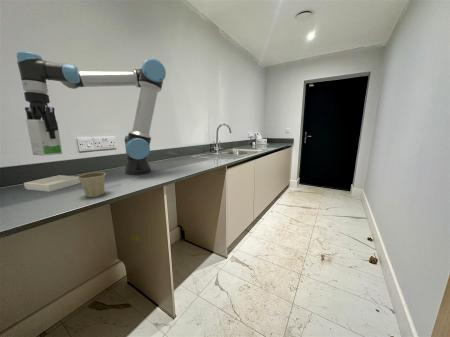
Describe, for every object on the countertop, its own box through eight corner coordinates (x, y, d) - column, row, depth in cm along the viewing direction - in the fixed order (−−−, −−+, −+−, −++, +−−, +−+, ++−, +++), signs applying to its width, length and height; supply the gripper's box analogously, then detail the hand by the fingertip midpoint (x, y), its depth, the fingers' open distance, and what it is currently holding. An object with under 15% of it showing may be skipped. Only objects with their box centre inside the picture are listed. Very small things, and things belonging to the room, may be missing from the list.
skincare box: (43, 156, 79) (36, 119, 76) (31, 155, 80) (24, 119, 77) (63, 153, 87) (58, 120, 84) (52, 153, 88) (46, 120, 85)
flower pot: (87, 201, 69) (83, 179, 67) (76, 196, 74) (73, 175, 72) (112, 193, 77) (110, 174, 75) (102, 189, 81) (99, 171, 80)
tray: (82, 182, 93) (81, 176, 92) (49, 191, 79) (48, 185, 78) (60, 180, 96) (59, 175, 95) (25, 189, 82) (23, 183, 81)
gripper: (8, 91, 77) (20, 146, 81) (43, 90, 73) (53, 147, 77) (30, 95, 84) (40, 144, 89) (63, 93, 80) (71, 145, 84)
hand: (46, 145), depth 83 cm, fingers closed on skincare box, 6 cm apart
